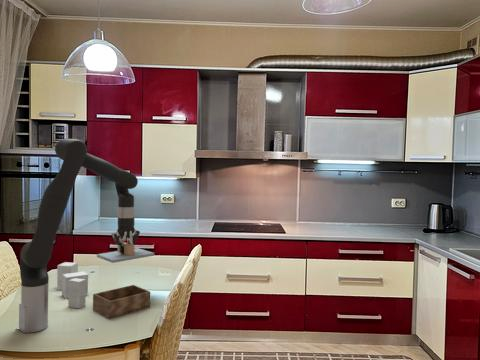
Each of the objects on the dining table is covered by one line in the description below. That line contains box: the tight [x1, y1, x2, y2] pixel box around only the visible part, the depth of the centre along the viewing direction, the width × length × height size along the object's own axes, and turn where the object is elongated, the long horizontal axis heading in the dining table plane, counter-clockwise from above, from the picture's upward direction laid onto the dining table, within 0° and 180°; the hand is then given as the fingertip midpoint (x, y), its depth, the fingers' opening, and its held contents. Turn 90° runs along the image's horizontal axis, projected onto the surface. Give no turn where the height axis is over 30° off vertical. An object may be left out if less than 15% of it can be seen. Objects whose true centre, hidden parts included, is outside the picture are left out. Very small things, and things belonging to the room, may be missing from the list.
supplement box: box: [56, 261, 79, 291], centre depth 199 cm, size 7×7×13 cm
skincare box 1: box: [61, 271, 89, 300], centre depth 188 cm, size 10×6×10 cm, turn 129°
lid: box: [96, 241, 155, 264], centre depth 181 cm, size 21×15×6 cm
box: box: [92, 284, 151, 320], centre depth 173 cm, size 20×14×7 cm
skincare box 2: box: [67, 278, 86, 309], centre depth 174 cm, size 6×4×12 cm
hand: (125, 253), depth 181 cm, fingers closed on lid, 3 cm apart
